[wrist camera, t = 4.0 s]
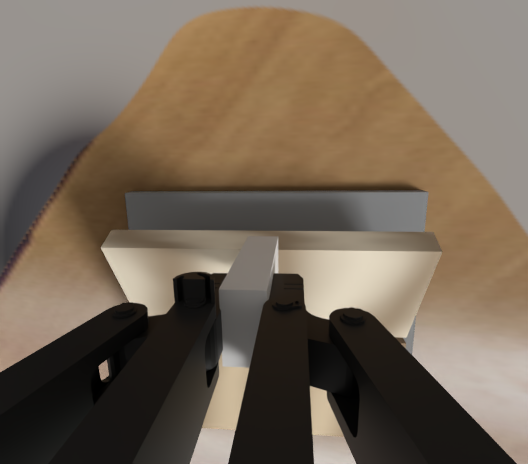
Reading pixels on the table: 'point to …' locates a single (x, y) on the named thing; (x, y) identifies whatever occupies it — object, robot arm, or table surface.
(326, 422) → the floor strip
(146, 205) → the underlay mat
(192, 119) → the table surface
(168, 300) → the birch plank
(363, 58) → the table surface
